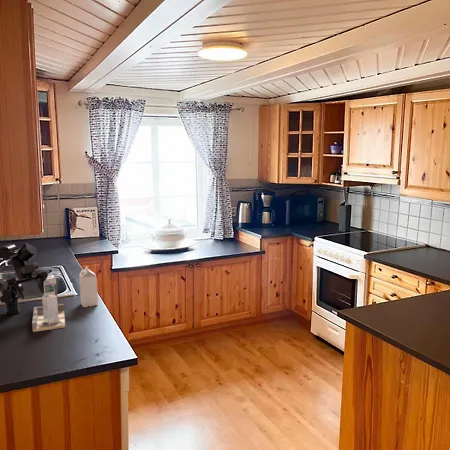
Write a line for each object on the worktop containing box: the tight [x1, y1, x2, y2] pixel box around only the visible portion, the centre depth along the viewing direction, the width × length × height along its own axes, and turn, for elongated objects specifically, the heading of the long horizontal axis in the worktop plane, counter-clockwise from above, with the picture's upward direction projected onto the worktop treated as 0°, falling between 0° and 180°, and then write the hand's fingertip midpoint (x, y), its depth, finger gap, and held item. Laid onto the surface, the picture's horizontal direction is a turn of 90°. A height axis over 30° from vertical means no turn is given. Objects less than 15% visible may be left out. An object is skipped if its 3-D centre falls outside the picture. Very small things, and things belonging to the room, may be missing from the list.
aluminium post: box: [41, 294, 59, 325], centre depth 199 cm, size 4×4×12 cm
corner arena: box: [31, 303, 66, 332], centre depth 204 cm, size 20×13×4 cm, turn 20°
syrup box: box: [42, 274, 59, 304], centre depth 224 cm, size 6×6×14 cm
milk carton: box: [78, 265, 99, 308], centre depth 224 cm, size 7×7×19 cm
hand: (33, 295), depth 204 cm, fingers open, 9 cm apart
